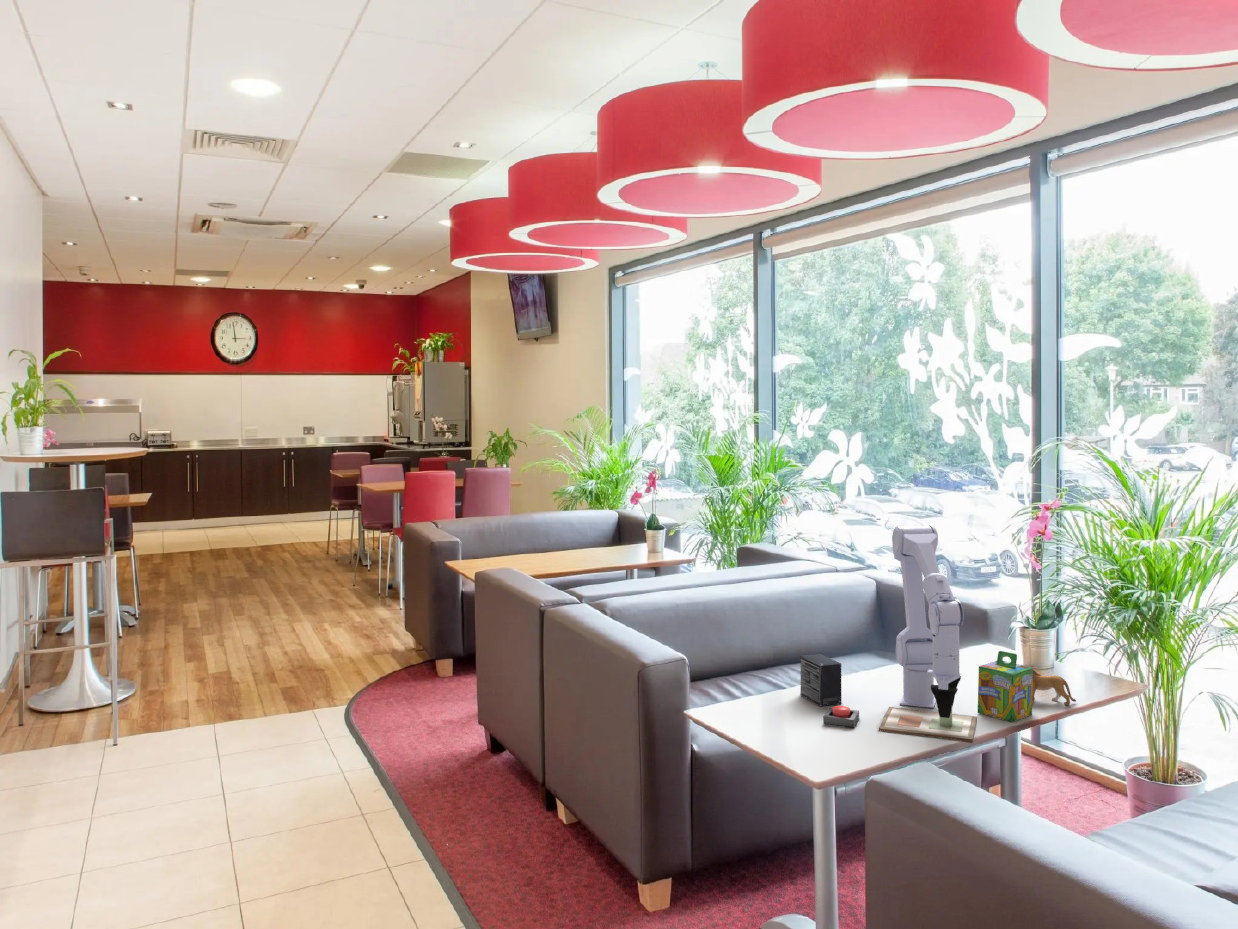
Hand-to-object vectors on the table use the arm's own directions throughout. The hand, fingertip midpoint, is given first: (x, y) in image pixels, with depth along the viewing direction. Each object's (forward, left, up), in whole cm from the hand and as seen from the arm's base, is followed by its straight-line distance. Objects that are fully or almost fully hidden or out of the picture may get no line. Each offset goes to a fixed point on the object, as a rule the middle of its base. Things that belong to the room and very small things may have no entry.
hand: (946, 712), depth 208 cm
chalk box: (-15, +12, -4) cm, 20 cm away
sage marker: (0, 0, -3) cm, 3 cm away
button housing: (+4, -23, -4) cm, 24 cm away
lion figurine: (-28, +20, -4) cm, 35 cm away
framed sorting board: (-1, -4, -4) cm, 6 cm away
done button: (+4, -23, -2) cm, 23 cm away
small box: (-11, -31, -4) cm, 33 cm away
